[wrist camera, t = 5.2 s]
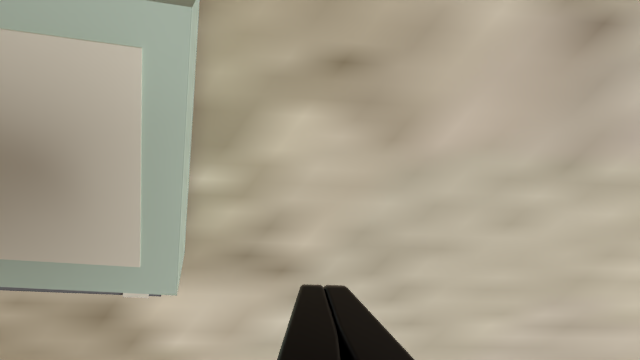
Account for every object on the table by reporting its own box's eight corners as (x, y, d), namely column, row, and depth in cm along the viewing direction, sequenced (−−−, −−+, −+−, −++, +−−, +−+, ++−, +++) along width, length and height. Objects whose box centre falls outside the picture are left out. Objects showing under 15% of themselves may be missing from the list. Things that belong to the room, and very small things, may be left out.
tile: (176, 297, 14) (-195, 279, 13) (184, 252, 16) (-140, 231, 14) (191, 7, 11) (-333, -72, 9) (199, -9, 12) (-236, -79, 11)
